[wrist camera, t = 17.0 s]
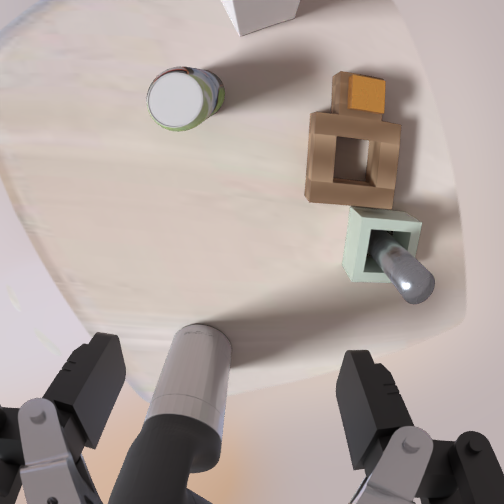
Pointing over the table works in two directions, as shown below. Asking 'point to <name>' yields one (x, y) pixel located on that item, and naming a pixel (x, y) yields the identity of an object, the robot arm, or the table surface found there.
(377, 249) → the peg
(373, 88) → the orange square-headed peg
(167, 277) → the table surface
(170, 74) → the beverage can
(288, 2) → the milk carton
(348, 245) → the rack
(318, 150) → the socket block
